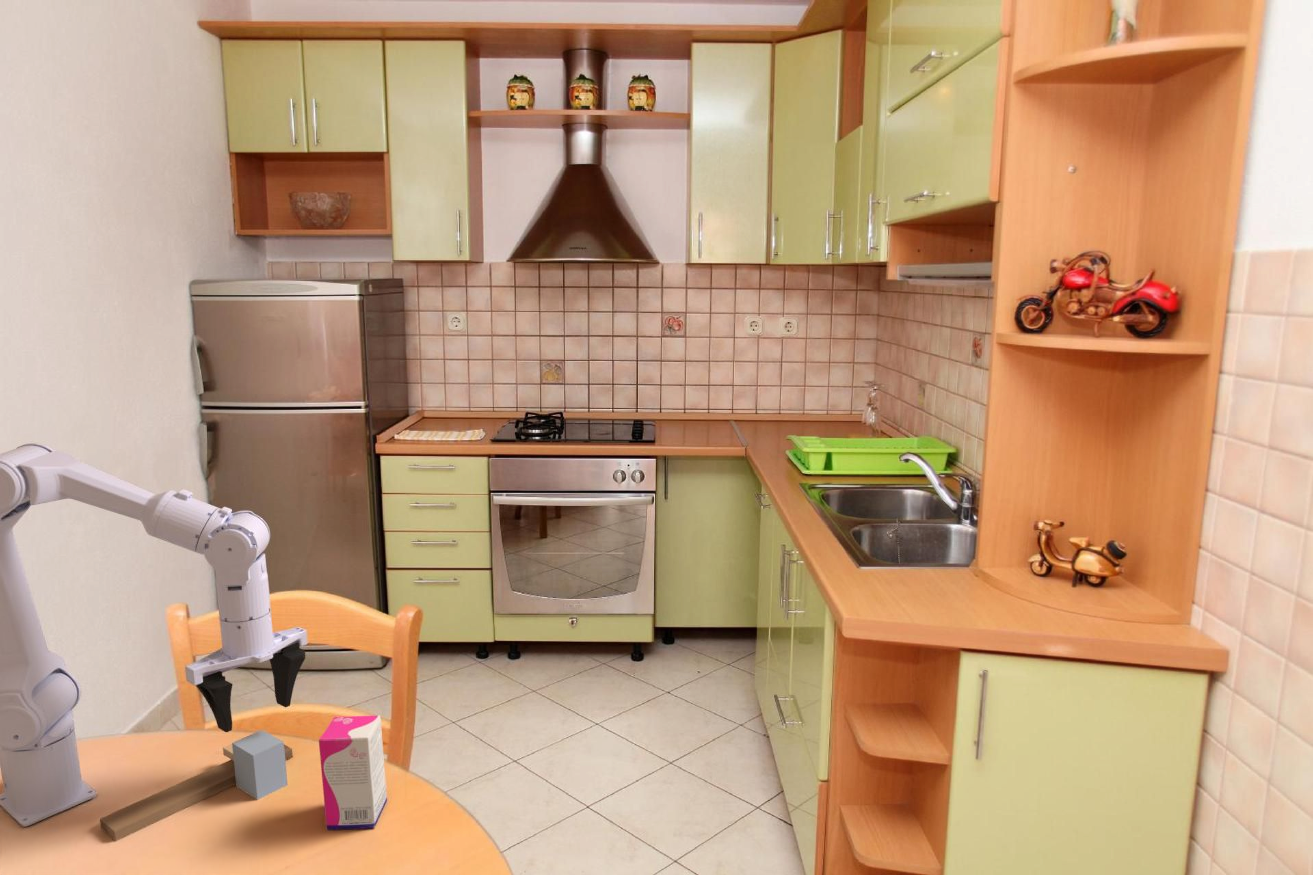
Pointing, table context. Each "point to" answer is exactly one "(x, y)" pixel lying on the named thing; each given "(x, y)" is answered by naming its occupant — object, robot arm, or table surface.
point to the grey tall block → (258, 763)
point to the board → (172, 800)
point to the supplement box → (353, 772)
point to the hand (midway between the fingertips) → (255, 716)
